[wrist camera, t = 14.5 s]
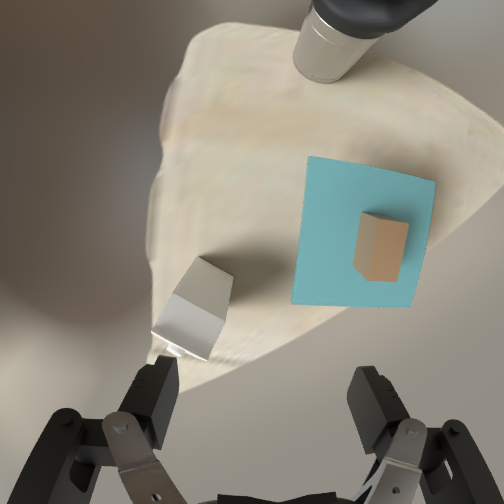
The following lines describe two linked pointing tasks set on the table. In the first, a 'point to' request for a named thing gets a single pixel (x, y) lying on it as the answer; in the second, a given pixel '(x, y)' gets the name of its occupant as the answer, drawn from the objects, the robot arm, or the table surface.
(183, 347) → the milk carton
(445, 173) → the table surface
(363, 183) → the teal square mat
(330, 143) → the table surface
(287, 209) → the table surface
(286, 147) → the table surface
